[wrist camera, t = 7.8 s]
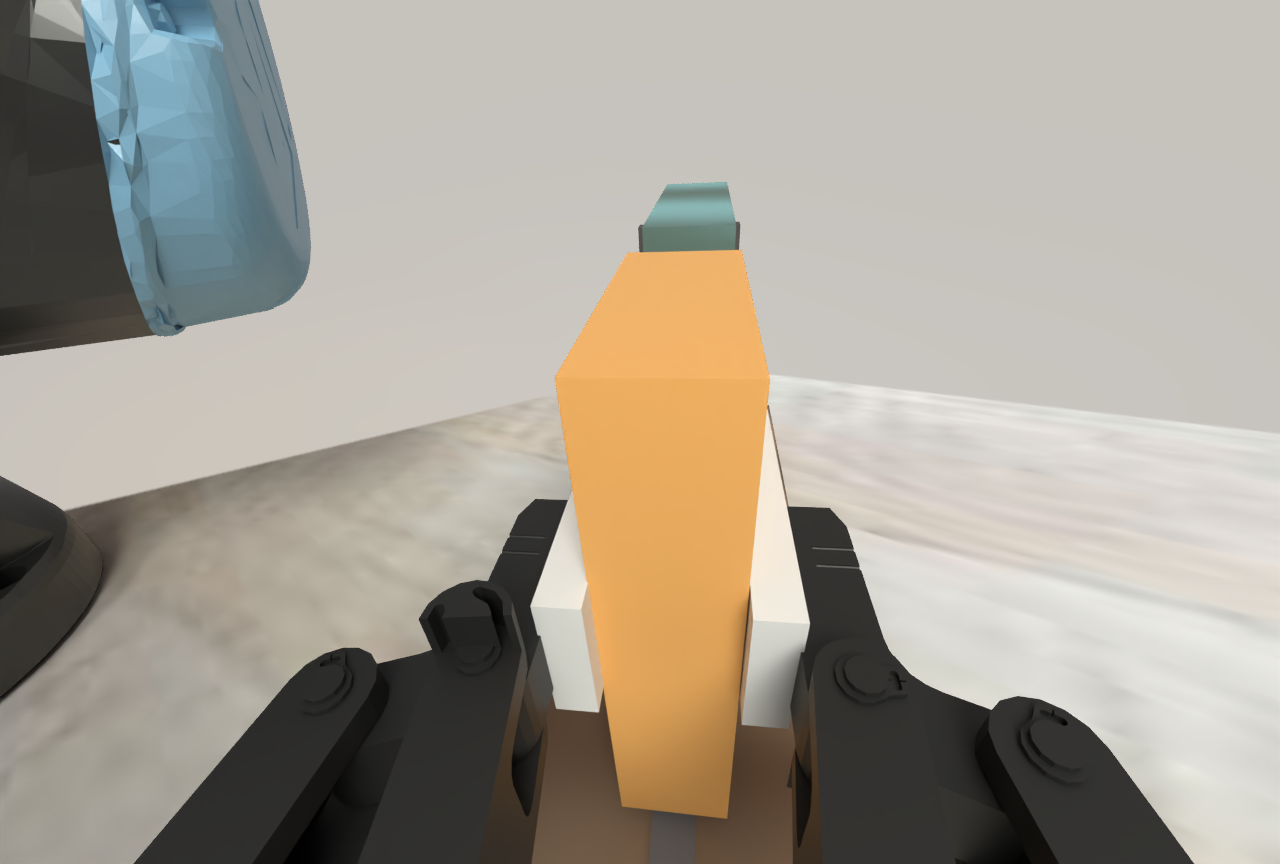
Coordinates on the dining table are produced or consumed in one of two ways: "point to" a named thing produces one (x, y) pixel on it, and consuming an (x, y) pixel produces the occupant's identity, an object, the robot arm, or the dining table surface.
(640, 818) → the ticket stand
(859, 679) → the robot arm
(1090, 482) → the dining table surface
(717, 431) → the stub
